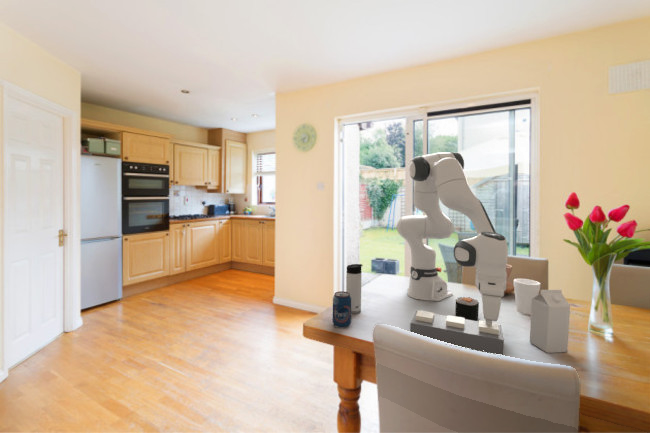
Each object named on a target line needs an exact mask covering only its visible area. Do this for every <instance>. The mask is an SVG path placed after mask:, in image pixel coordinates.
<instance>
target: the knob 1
mask: <svg viewBox="0 0 650 433" xmlns="http://www.w3.org/2000/svg"><path fill="white" fill-rule="evenodd" d="M417 311H418V312H417V314H416V320H418V321H424V322H430V323H432V322H433V319H434V314H435V312H432V311H425V310H421V309H420V310H419V309H418V310H417Z"/></svg>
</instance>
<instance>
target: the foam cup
mask: <svg viewBox="0 0 650 433" xmlns="http://www.w3.org/2000/svg"><path fill="white" fill-rule="evenodd" d="M513 286H514V297H515V299H514V300H515V309H516V312H518V313H519V314H523V315H529V316H531V308H532V298H534V297H535V296H537V295H539V294H540V293H539V292H540V291H541V282H539V281H537V280H534V279H528V278H514V279H513Z"/></svg>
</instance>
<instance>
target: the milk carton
mask: <svg viewBox="0 0 650 433" xmlns="http://www.w3.org/2000/svg"><path fill="white" fill-rule="evenodd" d="M539 292H540V293H539V294H538V295H537V296H535V297H534V298H532V308H531V315H530V324H529V325H530V327H529V328H530V329H529V331H530V332H529V343H530V344H532V345H533V346H535V347H537V348H538V349H540V350H542V351H544V352H545V353H546V354H547V353H548V354H549V353H567V352H568V346H569V345H568V344H569V332H570V331H569V330H570V327H569V326H570V313H571V305H570V303H569V301H568V300H567V299H566V297H565V296H564V295H563V293H562V289H540V291H539Z"/></svg>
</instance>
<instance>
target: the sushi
mask: <svg viewBox="0 0 650 433" xmlns="http://www.w3.org/2000/svg"><path fill="white" fill-rule="evenodd" d="M479 304H480V302H479V301H478V299H475V298H473V297H470V296H469V297H465V296H463V297H462V296H459V297H457V298H456V299H455V310H454V312H455V313H454V316H456V317H462V318H465V319H467V320H473V321H479Z"/></svg>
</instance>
